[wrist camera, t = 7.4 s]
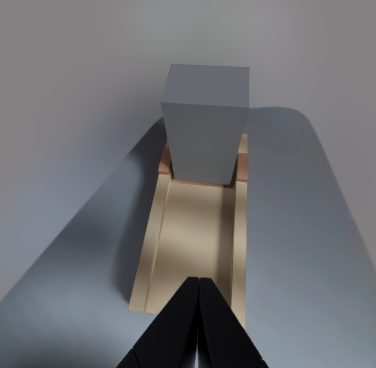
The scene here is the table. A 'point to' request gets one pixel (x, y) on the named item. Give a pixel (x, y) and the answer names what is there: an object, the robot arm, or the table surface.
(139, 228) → the table surface
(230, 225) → the sleeve track
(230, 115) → the grey rectangular box
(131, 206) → the table surface
